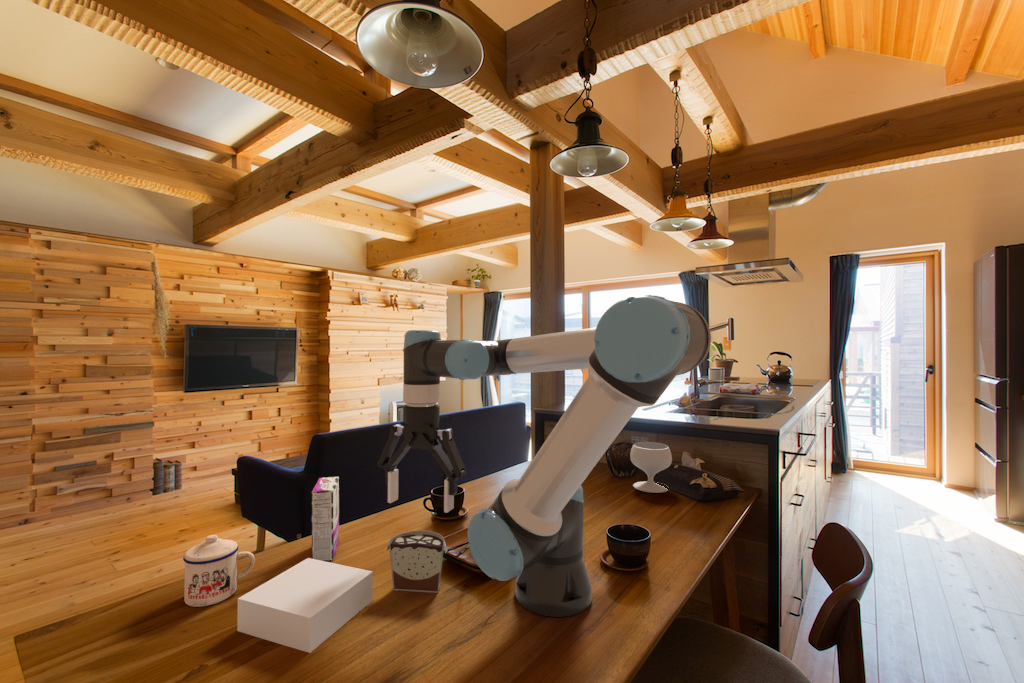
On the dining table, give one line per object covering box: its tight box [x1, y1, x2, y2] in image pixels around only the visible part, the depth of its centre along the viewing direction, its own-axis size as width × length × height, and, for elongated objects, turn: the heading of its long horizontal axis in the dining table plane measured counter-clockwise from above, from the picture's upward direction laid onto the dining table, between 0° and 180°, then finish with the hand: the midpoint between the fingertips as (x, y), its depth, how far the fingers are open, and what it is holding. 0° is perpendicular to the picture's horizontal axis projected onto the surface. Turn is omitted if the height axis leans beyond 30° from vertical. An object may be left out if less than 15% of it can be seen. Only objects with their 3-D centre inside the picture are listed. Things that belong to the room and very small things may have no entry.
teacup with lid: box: [182, 534, 256, 608], centre depth 90 cm, size 12×9×12 cm
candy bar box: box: [311, 476, 340, 562], centre depth 109 cm, size 11×5×16 cm, turn 14°
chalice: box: [629, 441, 673, 494], centre depth 159 cm, size 14×14×15 cm
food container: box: [386, 530, 447, 594], centre depth 95 cm, size 12×6×10 cm, turn 84°
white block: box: [236, 557, 374, 654], centre depth 83 cm, size 16×16×6 cm
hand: (420, 505), depth 95 cm, fingers open, 13 cm apart
